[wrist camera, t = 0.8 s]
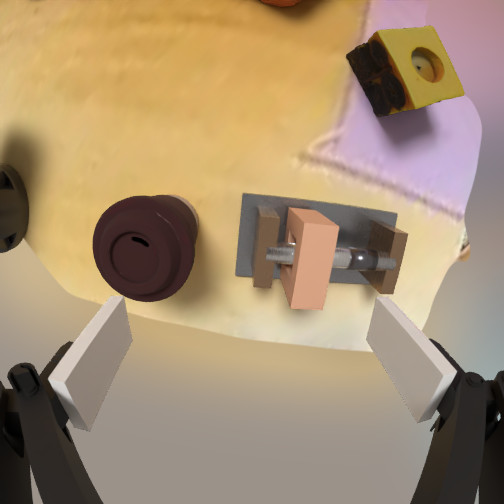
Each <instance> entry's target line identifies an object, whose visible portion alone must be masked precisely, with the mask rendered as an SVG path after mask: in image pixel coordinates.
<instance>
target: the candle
mask: <svg viewBox="0 0 504 504" xmlns="http://www.w3.org/2000/svg"><path fill="white" fill-rule="evenodd" d="M346 58H347V59H348V60H349V62H350V65H351V66H352V67H353V71H354V73H355V74H356V76H357V78H358V80H359V82H360V84H361V85H362V87H363V90H364V91H365V93H366V96H367V97H368V99H369V101H370V103H371V105H372V107H373V111H374V113H375V114H376V116H377V117H381V116H387V115H391V114H395V113H398V112H402V111H407V110H414V109H418V108H421V107H425V106H428V105H431V104H433V103H436V102H440V101H442V100H446V99H452V98H455V97H460V96H464V94H465V93H464V90H463V87H462V85H461V82H460V80H459V78H458V77H457V74H456V72H455V70H454V67H453V65H452V63H451V61H450V59H449V57H448V55H447V52H446V50H445V49H444V47H443V44H442V42H441V40H440V39H439V37H438V34H437V32H436V31H435V29H434V27H432V26H425V27H421V28H417V27H415V28H403V29H387V30H379V31H376V32H375V33H374V34H373V36H372V37H371V38H370V39H369V40H368V42H367V43H366V44H365V43H363V44H362V45H359V46H357V47H355V49H354V50H352V51H351V52H349V53H348V54H347V55H346Z"/></svg>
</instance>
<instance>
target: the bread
mask: <svg viewBox="0 0 504 504" xmlns="http://www.w3.org/2000/svg"><path fill="white" fill-rule="evenodd" d="M260 1H262V2H263V3H266V4H270V5H275V6H278V7H285V6H292V5H295V4H296V3H298V2H299V1H301V0H260Z"/></svg>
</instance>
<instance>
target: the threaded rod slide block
mask: <svg viewBox="0 0 504 504" xmlns="http://www.w3.org/2000/svg"><path fill="white" fill-rule="evenodd" d="M289 207H291V208H300V209H309V210H316V211H318V212H319V213H321V214H322V215H323V216H325V217H326V218H328V219H329V220H331V221H332V222H334V223H335V224H336V225H338V226H339V231H338V237H337V243H336V248H335V253H334V259H333V264H332V269H331V274H330V279H329V282H337V283H355V284H371V285H372V286H373V287H374V288H375V289H376V290H377V291H378V292H379V293H380V294H393V292H394V289H395V285H396V282H397V278H398V274H399V271H400V267H401V263H402V259H403V255H404V250H405V246H406V242H407V237H408V234H407V233H405V232H403V231H401V230H399V229H397V228H395V225H396V220H397V213H394V212H388V211H382V210H376V209H370V208H364V207H357V206H351V205H344V204H337V203H329V202H322V201H314V200H306V199H298V198H289V197H280V196H271V195H261V194H251V193H243V196H242V206H241V217H240V227H239V238H238V249H237V261H236V272H235V275H237V276H249V277H252V279H253V287H260V288H271V285H272V278H276V279H281V278H280V269H281V264H293V260H294V253H295V247H296V243H289V242H284V241H285V233H286V226H287V218H288V210H289Z"/></svg>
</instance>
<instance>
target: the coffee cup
mask: <svg viewBox="0 0 504 504" xmlns="http://www.w3.org/2000/svg"><path fill="white" fill-rule="evenodd" d="M197 229H198V217H197V214H196V211H195V209H194V207H193V206H192V205H191V204H190V203H189V202H188V201H187V200H186V199H184V198H182V197H180V196H176V195H156V196H151V197H150V196H133V197H129V198H126V199H124V200H121V201H119V202H117V203H115V204H113V205H112V206H110V207H109V208H108V209H107V210H106V211H105V212H104V213H103V214H102V216H101V217H100V219H99V221H98V223H97V225H96V227H95V231H94V235H93V254H94V259H95V262H96V265H97V268H98V269H99V271H100V273H101V275H102V277H103V278H104V279H105V281H106V282H107V283H108V284H109V285H110V286H111V287H112V288H113V289H114V290H116V291H117V292H118V293H120V294H121V295H123V296H125V297H127V298H130V299H133V300H136V301H142V302H154V301H160V300H163V299H166V298H168V297H170V296H171V295H173V294H174V293H176V292H177V291H178V290H179V289H180V288H181V287H182V286H183V284H184V283H185V282H186V280H187V278H188V276H189V274H190V271H191V269H192V266H193V263H194V257H195V246H194V245H195V242H196V238H197Z"/></svg>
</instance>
